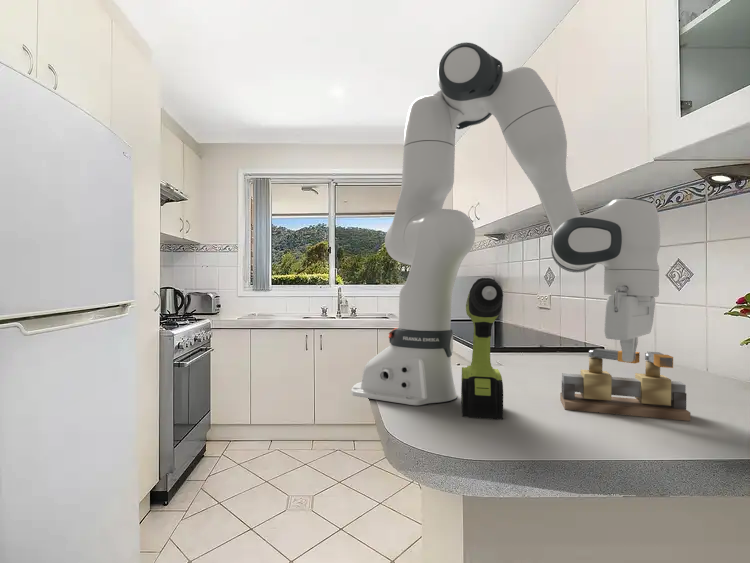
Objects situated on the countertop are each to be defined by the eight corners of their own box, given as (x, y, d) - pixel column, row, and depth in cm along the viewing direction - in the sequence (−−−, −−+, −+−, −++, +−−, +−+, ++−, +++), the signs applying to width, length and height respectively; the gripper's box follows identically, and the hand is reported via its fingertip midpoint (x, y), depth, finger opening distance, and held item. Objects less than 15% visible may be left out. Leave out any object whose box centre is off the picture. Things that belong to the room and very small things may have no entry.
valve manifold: (564, 409, 87) (565, 359, 87) (560, 399, 95) (561, 353, 95) (690, 420, 81) (691, 367, 81) (674, 409, 89) (675, 360, 89)
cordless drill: (511, 439, 69) (514, 277, 69) (464, 436, 70) (467, 276, 70) (495, 401, 92) (498, 279, 92) (460, 399, 93) (463, 278, 93)
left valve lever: (586, 357, 89) (586, 347, 89) (592, 356, 91) (592, 346, 91) (634, 363, 83) (634, 353, 83) (639, 362, 84) (639, 352, 84)
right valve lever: (643, 359, 88) (643, 349, 88) (658, 360, 87) (658, 350, 87) (657, 367, 80) (657, 356, 80) (674, 368, 79) (674, 357, 79)
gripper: (637, 285, 73) (634, 370, 73) (660, 287, 88) (659, 358, 88) (595, 284, 77) (593, 365, 77) (625, 286, 93) (623, 354, 92)
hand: (628, 361), depth 83 cm, fingers closed
